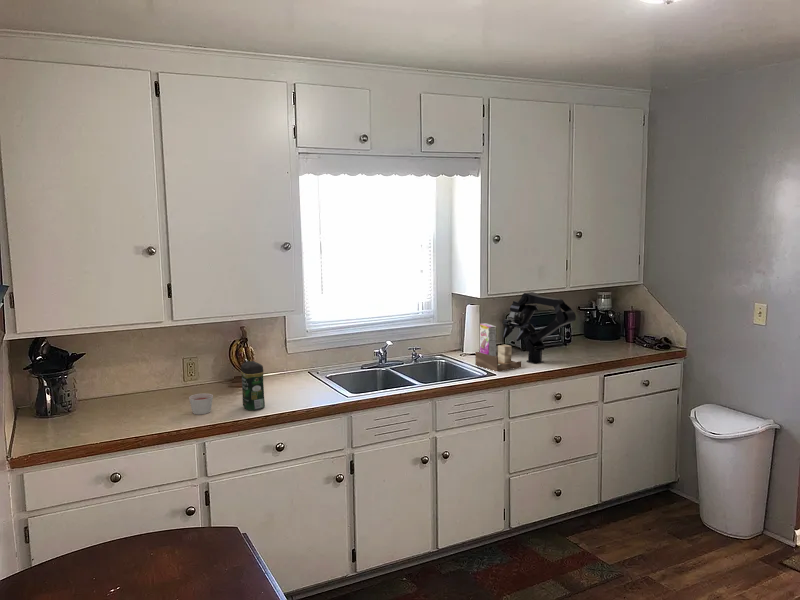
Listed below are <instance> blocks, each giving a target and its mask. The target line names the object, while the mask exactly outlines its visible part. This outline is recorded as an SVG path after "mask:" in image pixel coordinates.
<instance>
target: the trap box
mask: <svg viewBox="0 0 800 600" xmlns="http://www.w3.org/2000/svg"><path fill="white" fill-rule="evenodd" d="M475 365H477V366H476V367H479V366H480V367H479V368H482V367H483V368H482V369H486V368H487V370H489V369H490V370H489V371H493V370H494V372H496V371H498V372H503V371H502V370H504V371H508V370H507V369H509V370H514V369H518V368H519V367H520V368H522V360H520V361H514V360H511V362H507V363H503V362H499V361H498V355H496V356H491V355H487V354H483V353H480V352H479V351H475ZM513 368H514V369H513Z"/></svg>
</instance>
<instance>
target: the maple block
mask: <svg viewBox="0 0 800 600" xmlns="http://www.w3.org/2000/svg"><path fill="white" fill-rule="evenodd" d="M497 356H498V361H499V362H503V363H507V362H511V361H512V345H508V344H501V345H500V344H499V345H497Z"/></svg>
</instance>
